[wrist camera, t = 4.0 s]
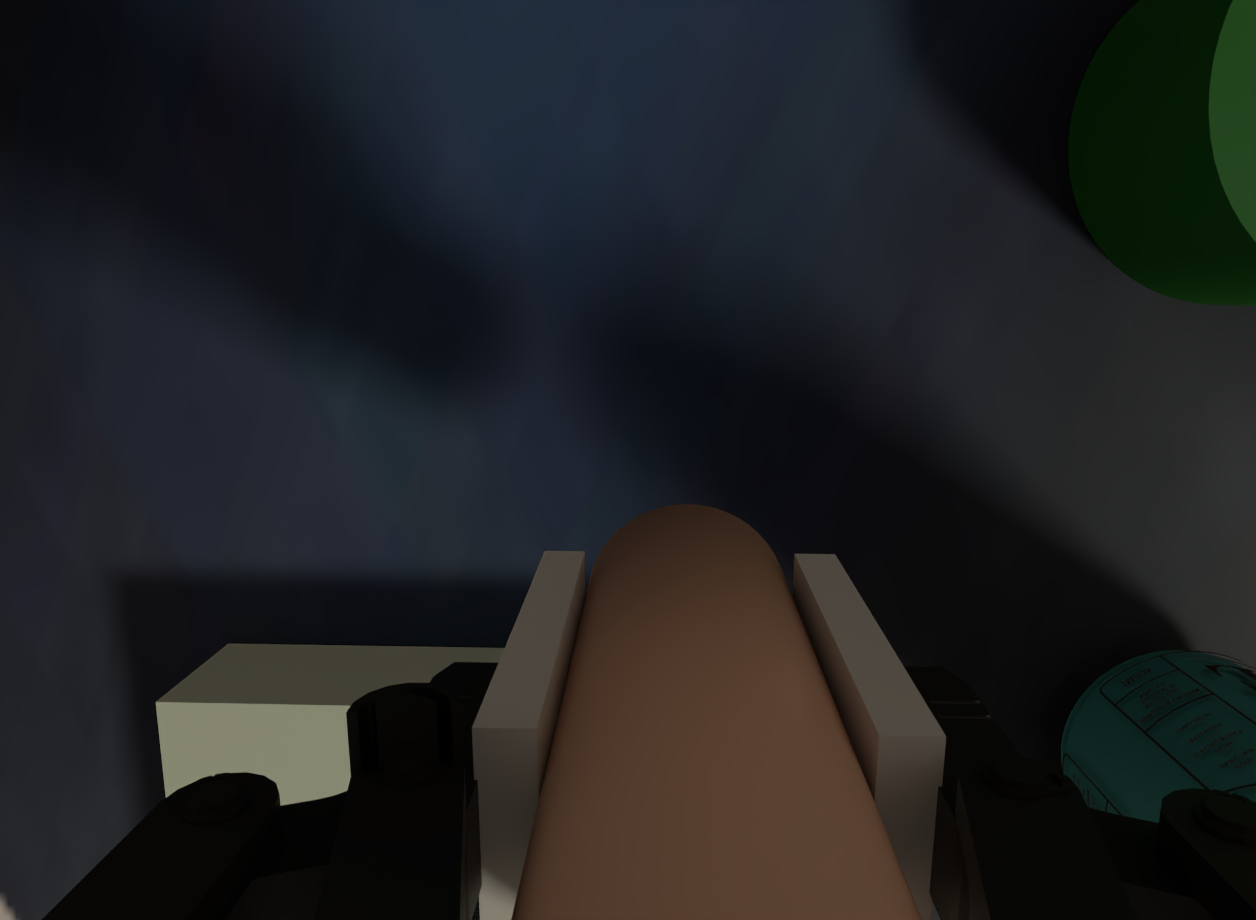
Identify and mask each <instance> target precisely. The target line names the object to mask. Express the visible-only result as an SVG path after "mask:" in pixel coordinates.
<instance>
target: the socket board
mask: <svg viewBox="0 0 1256 920" xmlns="http://www.w3.org/2000/svg"><path fill="white" fill-rule="evenodd" d="M504 649H505V648H477V647H414V646H352V645H290V644H227V645H226V646H225V647H223V648H222V649H221V650H220V651H218V652H217V653H216V654H215V655H214V656H212V657H211V658H210V659H209V660H207V661H206V662H205V663H204V664H202V665H201V666H200V667H199V668H197V669H196V670H195V671H194V672H192V673H191V674H190V675H189V676H187V677H186V678H185V679H184V680H182V681H181V682H180V683H179V684H177V685H176V686H175V687H174V688H172V689H171V690H170V691H169V692H167V693H166V694H165V695H164V696H162V697H161V698H160V699H159V700H157V701H156V711H157V720H158V729H159V739H160V748H161V758H162V767H163V777H164V786H165V795H166V798H167V797H168V796H169V795H171V794H172V793H173V792H175V791H176V790H177V789H180V788H182V787H184V786H186V785H189V784H191V783H193V782H195V781H197V780H199V779H201V778H204V777H207V776H211V775H212V776H215V774H220V773H241V772H248V773H253V774H259V775H264V776H266V777H267V778H269V779H271V780H272V781H274V782H275V783H276V784H277V788H278V791H279V795H280V805H281V806H282V805H288V804H294V803H299V802H305V801H311V800H317V799H321V798H325V797H330V796H334V795H337V794H340V793H343V792H345V791H347V790H348V786H349V782H350V778H351V772H350V758H349V745H348V731H347V718H346V712H347V711H348V709H349V708H350V706H351V705H352V703H353V702H354V701H356V700H357V699H359V698H361V697H362V696H364V695H365V694H367V693H368V692H371V691H374V690H377V689H380V688H383V687H386V686H390V685H396V684H403V683H409V682H410V683H430V681H431V679H432V677H433V676H434V675H436V674H437V673H439V672H440V671H442V670H443V669H445V668H446V667H448V666H449V665H451V664H452V663H453V662H491V663H499V661H500V658H501V656H502V653H503V651H504Z"/></svg>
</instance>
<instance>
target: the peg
mask: <svg viewBox="0 0 1256 920" xmlns="http://www.w3.org/2000/svg"><path fill="white" fill-rule="evenodd" d="M511 920H922V919H921V916H920V914H919V911H918V909H917V906H916V904H915V901H914V899H913V896H912V894H911V891H910V889H909V886H908V884H907V881H906V879H905V876H904V874H903V871H902V869H901V866H900V864H899V862H898V859H897V857H896V854H895V852H894V849H893V847H892V844H891V842H890V839H889V837H888V834H887V832H886V829H885V827H884V824H883V822H882V819H881V817H880V814H879V812H878V809H877V807H876V804H875V802H874V799H873V797H872V794H871V792H870V789H869V787H868V784H867V782H866V779H865V777H864V774H863V772H862V769H861V767H860V764H859V762H858V759H857V757H856V754H855V752H854V749H853V747H852V744H851V742H850V739H849V737H848V734H847V732H846V729H845V727H844V724H843V722H842V719H841V717H840V714H839V712H838V709H837V707H836V704H835V702H834V699H833V697H832V694H831V692H830V689H829V687H828V684H827V682H826V679H825V677H824V674H823V672H822V670H821V667H820V665H819V662H818V660H817V657H816V655H815V652H814V650H813V647H812V645H811V642H810V640H809V637H808V635H807V632H806V630H805V627H804V625H803V622H802V620H801V617H800V615H799V612H798V610H797V607H796V605H795V602H794V600H793V597H792V595H791V592H790V590H789V587H788V585H787V582H786V580H785V577H784V575H783V572H782V570H781V567H780V565H779V563H778V561H777V559H776V556H775V554H774V553H773V551H772V550H771V548H770V547H769V545H768V544H767V542H766V541H765V540H764V539H763V538H762V537H761V535H760V534H759V533H758V532H757V531H755V530H754V529H753V528H752V527H751V526H750V525H748V524H747V523H745V522H744V521H742V520H741V519H739V518H738V517H736V516H734V515H732V514H730V513H727V512H725V511H722V510H719V509H716V508H713V507H708V506H703V505H692V504H681V505H671V506H666V507H661V508H657V509H654V510H651V511H648V512H646V513H644V514H642V515H640V516H638V517H636V518H634V519H633V520H631V521H630V522H628V523H626V524H625V525H624V526H623V527H622V528H620V529H619V530H618V531H617V532H616V533H615V534H614V535H613V536H612V537H611V538H610V539H609V540H608V541H607V543H606V544H605V546H604V547H603V549H602V550H601V552H600V554H599V555H598V557H597V559H596V561H595V564H594V567H593V569H592V572H591V576H590V580H589V584H588V589H587V593H586V597H585V602H584V606H583V610H582V615H581V619H580V623H579V628H578V632H577V636H576V641H575V645H574V649H573V654H572V658H571V662H570V667H569V671H568V675H567V680H566V684H565V688H564V693H563V697H562V701H561V706H560V710H559V715H558V719H557V723H556V728H555V732H554V736H553V741H552V745H551V749H550V754H549V758H548V762H547V767H546V771H545V775H544V780H543V784H542V788H541V793H540V797H539V801H538V806H537V810H536V814H535V819H534V823H533V827H532V832H531V836H530V840H529V845H528V849H527V853H526V858H525V862H524V866H523V871H522V875H521V879H520V884H519V888H518V893H517V897H516V901H515V906H514V910H513V914H512V919H511Z"/></svg>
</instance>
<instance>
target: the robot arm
mask: <svg viewBox="0 0 1256 920" xmlns="http://www.w3.org/2000/svg"><path fill="white" fill-rule="evenodd" d="M793 600H794V602H795V605H796V607H797V610H798V612H799V615H800V617H801V620H802V622H803V625H804V627H805V630H806V632H807V635H808V637H809V640H810V642H811V645H812V647H813V650H814V652H815V655H816V657H817V660H818V662H819V665H820V667H821V670H822V672H823V674H824V677H825V679H826V682H827V684H828V687H829V689H830V692H831V694H832V697H833V699H834V702H835V704H836V707H837V709H838V712H839V714H840V717H841V719H842V722H843V724H844V727H845V729H846V732H847V734H848V737H849V739H850V742H851V744H852V747H853V749H854V752H855V754H856V757H857V759H858V762H859V764H860V767H861V769H862V772H863V774H864V777H865V779H866V782H867V784H868V787H869V789H870V792H871V794H872V797H873V799H874V802H875V804H876V807H877V809H878V812H879V814H880V817H881V819H882V822H883V824H884V827H885V829H886V832H887V834H888V837H889V839H890V842H891V844H892V847H893V849H894V852H895V854H896V857H897V859H898V862H899V864H900V866H901V869H902V871H903V874H904V876H905V879H906V881H907V884H908V886H909V889H910V891H911V894H912V896H913V899H914V901H915V904H916V906H917V909H918V911H919V914H920V916H921V919H922V920H931V912H932V900H933V903H934V905H935V907H936V910H937V912H938V914H939V917H940V919H941V920H1256V803H1255V802H1253V801H1251V800H1250V799H1248V798H1246V797H1244V796H1241V795H1238V794H1234V793H1232V794H1229V792H1226V791H1221V790H1216V789H1213V790H1206V789H1196V788H1190V789H1183V790H1176V791H1172V792H1171V793H1169V794H1168V795H1166V796H1165V797H1163V798H1162V804H1161V811H1160V817H1159V823H1157V822H1152V821H1147V820H1142V819H1137V818H1132V817H1127V816H1122V815H1117V814H1112V813H1108V812H1104V811H1100V810H1097V809H1093V808H1090V807H1087V805H1086V802H1085V800H1084V798H1083V796H1082V794H1081V791H1080V790H1079V789H1078V787H1077V786H1076V785H1075V784H1074V782H1073V781H1072V780H1071V779H1070V778H1069V777H1068V776H1066V775H1065V774H1063V773H1062V772H1060V771H1059V770H1057V769H1056V768H1054V767H1052V766H1050V765H1047V764H1045V763H1042V762H1040V761H1037V760H1035V759H1032V758H1028V757H1023V756H1020V755H1019V753H1018V752H1017V750H1016V749H1015V748H1014V746H1013V745H1012V744H1011V742H1010V741H1009V740H1008V738H1007V737H1006V736H1005V734H1004V733H1003V732H1002V730H1001V729H1000V727H999V726H998V725H997V723H996V722H995V721H994V719H991V715H990V714H989V713H988V711H987V710H986V709H985V707H984V706H983V704H980V700H979V699H978V698H977V696H976V695H975V694H974V692H973V691H972V690H971V688H970V687H969V685H968V684H967V683H966V682H964V681H963V680H961V679H960V678H958V677H956V676H955V675H953V674H952V673H950V672H948V671H947V670H945V669H944V668H942V667H904V666H903V665H902V663H901V661H900V660H899V658H898V657H897V655H896V653H895V652H894V650H893V648H892V647H891V645H890V643H889V642H888V640H887V639H886V637H885V635H884V634H883V632H882V630H881V629H880V627H879V625H878V624H877V622H876V620H875V619H874V617H873V616H872V614H871V612H870V611H869V609H868V607H867V606H866V604H865V602H864V601H863V599H862V598H861V596H860V594H859V593H858V591H857V589H856V588H855V586H854V584H853V583H852V581H851V580H850V578H849V576H848V575H847V573H846V571H845V570H844V568H843V566H842V565H841V563H840V561H839V560H838V558H837V557H836V555H835V554H794V575H793ZM584 602H585V551H545V552H544V554H543V556H542V559H541V561H540V564H539V566H538V569H537V571H536V573H535V576H534V578H533V581H532V583H531V585H530V588H529V590H528V593H527V595H526V598H525V600H524V602H523V605H522V607H521V610H520V612H519V615H518V617H517V619H516V622H515V624H514V627H513V629H512V632H511V634H510V636H509V639H508V641H507V644H506V646H505V649H504V651H503V653H502V656H501V658H500V661H499V663H491V662H453V663H452V664H451V665H449V666H448V667H446V668H445V669H443V670H442V671H440V672H439V673H437V674H436V675H434V676H433V677H432V679H431V681H430V683H410V682H409V683H403V684H396V685H390V686H386V687H383V688H380V689H377V690H374V691H371V692H368V693H367V694H365V695H364V696H362V697H361V698H359V699H357V700H356V701H354V702H353V703H352V705H351V706H350V708H349V709H348V711H347V712H346V718H347V731H348V745H349V758H350V772H351V778H350V782H349V786H348V790H347V791H345V792H343V793H340V794H337V795H334V796H330V797H325V798H321V799H317V800H311V801H305V802H299V803H294V804H288V805H282V806H281V805H280V795H279V791H278V788H277V784H276V783H275V782H274V781H272V780H271V779H269V778H267V777H266V776H264V775H259V774H253V773H248V772H241V773H220V774H215V776H212V775H211V776H207V777H204V778H201V779H199V780H197V781H195V782H193V783H191V784H189V785H186V786H184V787H182V788H180V789H177V790H176V791H175V792H173V793H172V794H171V795H169V796H168V797H167V798H165V799H164V800H163V801H161V802H160V803H159V804H158V805H157V806H156V807H155V808H154V809H153V810H152V811H151V812H150V813H149V814H148V815H147V816H146V817H145V818H144V819H143V820H142V821H141V822H140V823H139V824H138V825H137V826H136V827H135V828H134V829H133V830H132V831H131V832H130V833H129V834H128V835H127V836H126V837H125V838H124V839H123V840H122V841H121V842H120V843H119V844H118V845H117V846H116V847H115V848H114V849H113V850H111V851H110V852H109V853H108V854H107V855H106V856H105V857H104V858H103V859H102V860H101V861H100V862H99V863H98V864H97V865H96V866H95V867H94V868H93V869H92V870H91V871H90V872H89V873H88V874H87V875H86V876H85V877H84V878H83V879H82V880H81V881H80V882H79V883H78V884H77V885H76V886H75V887H74V888H73V889H72V890H71V891H70V892H69V893H68V894H67V895H66V896H65V897H64V898H63V899H62V900H61V901H60V902H59V903H58V904H57V905H56V906H55V907H54V908H53V909H52V910H51V911H50V912H49V913H48V914H47V915H46V916H45V917H44V918H43V919H42V920H472V917H473V914H474V911H475V907H476V904H477V900H478V897H479V911H480V920H511V919H512V914H513V910H514V906H515V901H516V897H517V893H518V888H519V884H520V879H521V875H522V871H523V866H524V862H525V858H526V853H527V849H528V845H529V840H530V836H531V832H532V827H533V823H534V819H535V814H536V810H537V806H538V801H539V797H540V793H541V788H542V784H543V780H544V775H545V771H546V767H547V762H548V758H549V754H550V749H551V745H552V741H553V736H554V732H555V728H556V723H557V719H558V715H559V710H560V706H561V701H562V697H563V693H564V688H565V684H566V680H567V675H568V671H569V667H570V662H571V658H572V654H573V649H574V645H575V641H576V636H577V632H578V628H579V623H580V619H581V615H582V610H583V606H584Z"/></svg>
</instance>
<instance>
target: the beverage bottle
mask: <svg viewBox="0 0 1256 920" xmlns="http://www.w3.org/2000/svg"><path fill="white" fill-rule="evenodd" d="M1198 652H1203V651H1181V650H1171V651H1159V652H1152V653H1149V654H1145V655H1141V656H1138V657H1135V658H1133V659H1130V660H1127V661H1125V662H1123V663H1121V664H1119V665H1117V666H1115V667H1114V668H1112V669H1111V670H1109V671H1107V672H1106V673H1104V674H1103V675H1102V676H1101V677H1099V678H1098V679H1097V680H1096V681H1094V682H1093V683H1092V684H1091V685H1090V686H1089V687H1088V689H1087V690H1086V691H1085V692H1084V693H1083V694H1082V696H1081V697H1080V698H1079V700H1078V701H1077V702H1076V704H1075V706H1074V708H1073V709H1072V711H1071V713H1070V715H1069V717H1068V720H1067V722H1066V724H1065V728H1064V732H1063V736H1062V743H1061V763H1062V773H1063V774H1065V775H1066V776H1068V777H1069V778H1070V779H1071V780H1072V781H1073V782H1074V784H1075V785H1076V786H1077V787H1078V789H1079V790H1080V791H1081V794H1082V796H1083V798H1084V800H1085V802H1086V805H1087V807H1090V808H1093V809H1097V810H1100V811H1104V812H1108V813H1112V814H1117V815H1122V816H1127V817H1132V818H1137V819H1142V820H1147V821H1152V822H1157V823H1159V817H1160V811H1161V804H1162V798H1163V797H1165V796H1166V795H1168V794H1169V793H1171V792H1172V791H1176V790H1183V789H1190V788H1196V789H1206V790H1213V789H1216V790H1221V791H1226V792H1229V794H1232V793H1234V794H1238V795H1241V796H1244V797H1246V798H1248V799H1250V800H1251V801H1253V802H1255V803H1256V675H1255V674H1254V673H1252V672H1251V671H1252V670H1248V669H1244V668H1243V667H1241V666H1239V665H1237V664H1235V663H1233V662H1234V661H1232V662H1231V660H1228V659H1224V658H1220V657H1217V656H1213V655H1209V654H1204V653H1212V652H1204V653H1198ZM1214 654H1217V653H1214ZM1219 655H1222V654H1219ZM1223 656H1226V655H1223ZM1228 657H1229V656H1228ZM1231 658H1232V657H1231ZM1234 659H1235V658H1234ZM1236 660H1238V659H1236ZM1239 661H1240V660H1239ZM1242 662H1243V661H1242ZM1236 663H1238V662H1236ZM1244 663H1245V662H1244ZM1239 664H1241V663H1240V662H1239ZM1244 666H1246V665H1245V664H1244ZM1248 667H1249V666H1248ZM1253 669H1254V668H1253ZM1253 672H1254V671H1253Z"/></svg>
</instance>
